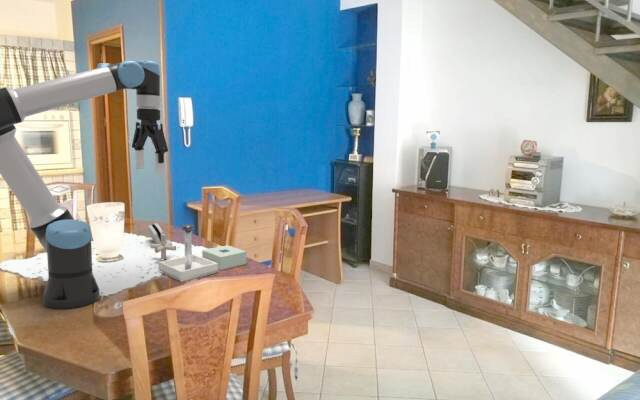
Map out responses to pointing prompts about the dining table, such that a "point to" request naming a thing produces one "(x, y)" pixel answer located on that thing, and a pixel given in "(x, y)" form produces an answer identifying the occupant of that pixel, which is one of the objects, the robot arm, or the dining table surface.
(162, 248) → the pipe connector
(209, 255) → the block
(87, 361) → the dining table surface
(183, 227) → the steel pin
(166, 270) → the tray
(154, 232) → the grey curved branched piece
